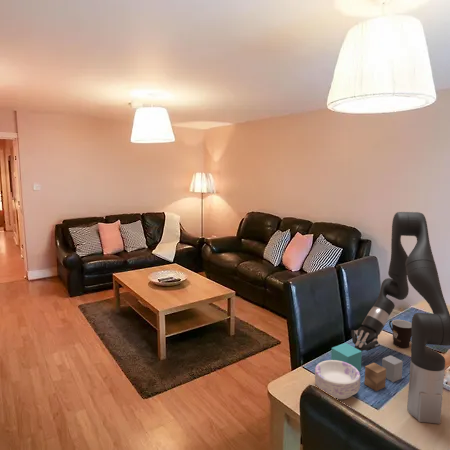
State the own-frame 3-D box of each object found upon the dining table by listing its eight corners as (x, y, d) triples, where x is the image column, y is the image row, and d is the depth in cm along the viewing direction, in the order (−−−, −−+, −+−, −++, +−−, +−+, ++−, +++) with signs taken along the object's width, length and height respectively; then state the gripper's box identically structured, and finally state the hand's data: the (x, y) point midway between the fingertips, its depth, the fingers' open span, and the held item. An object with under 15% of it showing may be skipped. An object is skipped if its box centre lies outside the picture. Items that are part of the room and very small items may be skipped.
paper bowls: (306, 384, 125) (306, 364, 123) (339, 375, 130) (340, 355, 129) (333, 410, 111) (333, 387, 109) (369, 399, 116) (370, 377, 115)
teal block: (360, 370, 133) (361, 351, 132) (347, 376, 129) (347, 356, 128) (344, 360, 140) (345, 342, 139) (330, 366, 136) (331, 347, 135)
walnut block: (385, 386, 122) (386, 368, 121) (376, 391, 120) (377, 373, 119) (373, 379, 127) (374, 362, 126) (364, 384, 124) (365, 366, 123)
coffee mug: (414, 350, 148) (416, 328, 146) (393, 348, 149) (394, 327, 148) (406, 338, 159) (407, 317, 158) (386, 336, 161) (387, 316, 159)
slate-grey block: (401, 378, 128) (402, 361, 127) (393, 382, 125) (394, 364, 124) (389, 371, 132) (390, 355, 131) (381, 375, 129) (382, 358, 128)
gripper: (358, 310, 145) (337, 344, 140) (386, 321, 133) (364, 359, 129) (365, 319, 148) (345, 353, 144) (393, 331, 137) (372, 368, 132)
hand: (354, 355), depth 136 cm, fingers closed
